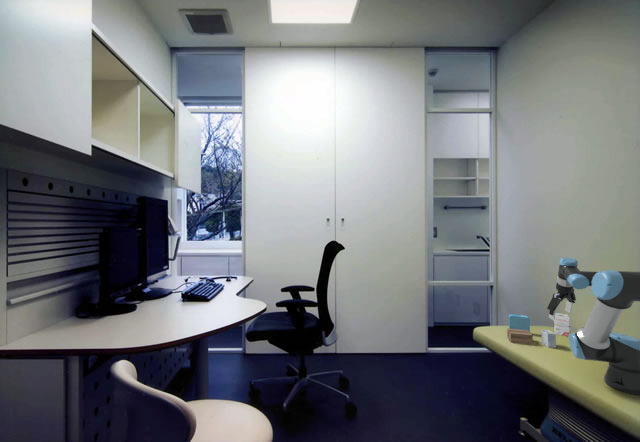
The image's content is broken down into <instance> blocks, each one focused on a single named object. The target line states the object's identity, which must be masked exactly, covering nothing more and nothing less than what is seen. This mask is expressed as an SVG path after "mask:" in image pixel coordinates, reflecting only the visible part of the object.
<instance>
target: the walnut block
mask: <svg viewBox="0 0 640 442" xmlns="http://www.w3.org/2000/svg"><path fill="white" fill-rule="evenodd" d="M506 337H507V339H508V341H509V342H510V343H513V344H520V345H521V344H522V345H531V346H532V345H534V340H533V339H534V337H533V334H532V333H531V331H530V332H529V331H528V330H519V329H509V327H507V328H506Z"/></svg>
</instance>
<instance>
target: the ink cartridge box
mask: <svg viewBox="0 0 640 442" xmlns="http://www.w3.org/2000/svg"><path fill="white" fill-rule="evenodd" d="M553 323H554V328H553V329H554V331H553V333H555V334H556V335H559V336H564V337H568V338H569V334H570V333H572V323H571V318H570V315H569V314H564V313H559V312H556V314H555V320H553Z"/></svg>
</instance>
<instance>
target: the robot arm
mask: <svg viewBox="0 0 640 442" xmlns="http://www.w3.org/2000/svg"><path fill="white" fill-rule="evenodd" d="M588 287H590V288H591V292H592V294H593V296H594V297H595V298H596V301H595V303H594V305H593V308H592V309H591V311H590V314H589V316H588V318H587V321H586V323H585V326H583V327H580V328H579V329H578V330H577V332H576V333H575V332H571V333H570V334H569V337H568V343H569V348H570V350H571V352H572V355H573V356H574V357H575V358H577V359H579V360H584V361H594V362H604V363H605V362H606V363H608V367H607V369H606V371H605V373H604V376H603V378H604V379H603V381H604V383H605V384H606V385H607V386H609V387H611V388H613V389H616V390H618V391H621V392H624V393H628V394H630V395H631V394H632V395H639V396H640V339H638V338H636V337H633V336H630V335H627V334H623V333H619V332H612V331H613V330H614V328H615V326H616V324H617V322H618V321H619V319H620V317H621V316H622V313H623V311H624V310H628V309H630V308H631V307H632V306H633V304H634V302H640V271H629V270H627V271H623V270H619V271H618V270H612V269H611V270H610V269H609V270H599V271H585V270H580V269H579V268H578V260H577V259H575V258H573V257H569V256H568V257H562V258H560V260H559V264H558V272H557V279H556V284H555V289H556V290H557V292H556V293H554V292H553V294H552V297H551V300H550V302H549V303H548V306H547V308H546V309H547V310H549V312H548V313H549V314H548V318H549V319H550V320H552V321H554V320H555V314H556V313H557V310H556V309H557V308H558V306H559V305H560V303H561V302H563V301H564V300H565V299H566V300H567V301H566V302H565V308H564V311H565V312H567V313H569V314H570V313H571V312H572V309H573V307H572V306H573V304H575V303H576V301H577V298H576V295H575V289H576V290H584V289H587V288H588Z"/></svg>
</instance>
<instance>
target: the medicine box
mask: <svg viewBox="0 0 640 442" xmlns="http://www.w3.org/2000/svg"><path fill="white" fill-rule="evenodd" d="M556 336H557V334H555V333H554V331H551V330H549V329H541V344H542V345H545V346H546V347H547V348H549V349H556V348H557V337H556Z"/></svg>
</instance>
